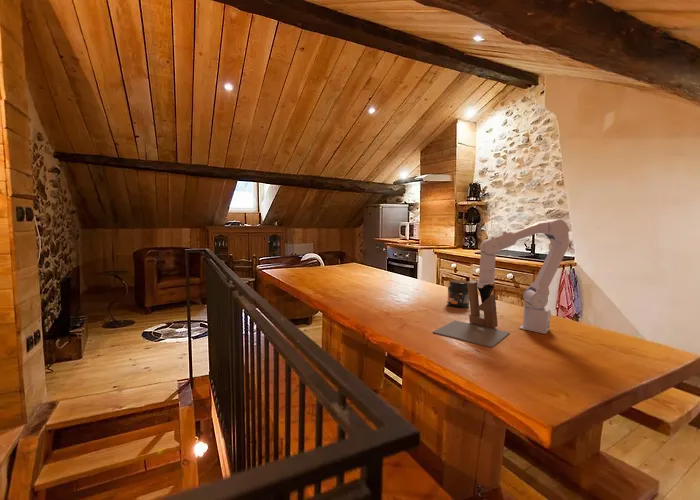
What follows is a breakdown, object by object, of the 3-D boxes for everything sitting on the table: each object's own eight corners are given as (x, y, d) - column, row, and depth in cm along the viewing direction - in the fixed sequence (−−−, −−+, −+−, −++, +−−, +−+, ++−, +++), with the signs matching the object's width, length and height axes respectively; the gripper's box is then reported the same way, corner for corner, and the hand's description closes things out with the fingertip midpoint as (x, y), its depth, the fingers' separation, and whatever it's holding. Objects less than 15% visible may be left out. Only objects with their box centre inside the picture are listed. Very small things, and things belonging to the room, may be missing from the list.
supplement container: (442, 303, 184) (443, 280, 182) (459, 302, 188) (460, 279, 187) (456, 309, 174) (458, 284, 173) (473, 307, 179) (475, 282, 177)
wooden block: (492, 329, 144) (489, 287, 140) (469, 322, 153) (465, 282, 148) (498, 326, 146) (494, 284, 142) (474, 319, 155) (470, 279, 150)
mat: (509, 333, 140) (509, 332, 140) (492, 347, 125) (492, 346, 125) (454, 321, 154) (454, 320, 154) (432, 332, 139) (432, 331, 139)
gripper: (483, 266, 155) (481, 298, 156) (470, 270, 144) (468, 304, 145) (500, 268, 150) (498, 301, 152) (488, 272, 139) (486, 307, 141)
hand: (484, 303), depth 148 cm, fingers closed
